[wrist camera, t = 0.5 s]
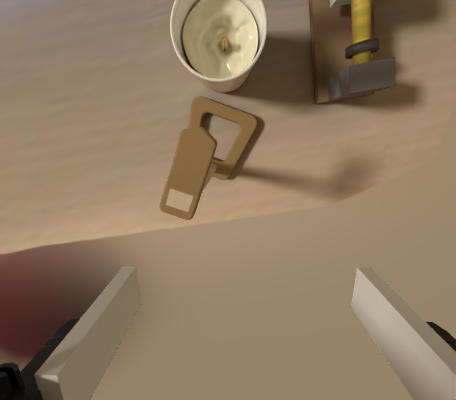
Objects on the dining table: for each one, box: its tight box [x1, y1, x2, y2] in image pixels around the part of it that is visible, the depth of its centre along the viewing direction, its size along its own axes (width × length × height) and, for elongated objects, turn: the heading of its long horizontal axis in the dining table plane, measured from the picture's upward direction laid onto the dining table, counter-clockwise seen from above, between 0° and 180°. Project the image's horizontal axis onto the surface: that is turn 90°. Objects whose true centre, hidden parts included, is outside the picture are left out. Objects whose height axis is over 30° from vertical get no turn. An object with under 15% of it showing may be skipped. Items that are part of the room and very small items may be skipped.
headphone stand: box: [160, 96, 257, 220], centre depth 28 cm, size 10×11×22 cm
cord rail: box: [309, 0, 395, 104], centre depth 30 cm, size 20×8×8 cm, turn 9°
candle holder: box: [170, 0, 267, 92], centre depth 30 cm, size 10×10×12 cm
